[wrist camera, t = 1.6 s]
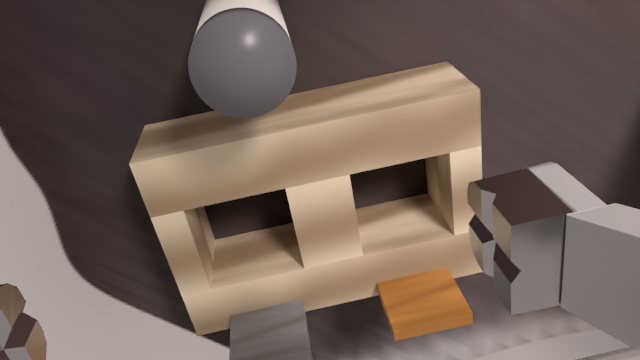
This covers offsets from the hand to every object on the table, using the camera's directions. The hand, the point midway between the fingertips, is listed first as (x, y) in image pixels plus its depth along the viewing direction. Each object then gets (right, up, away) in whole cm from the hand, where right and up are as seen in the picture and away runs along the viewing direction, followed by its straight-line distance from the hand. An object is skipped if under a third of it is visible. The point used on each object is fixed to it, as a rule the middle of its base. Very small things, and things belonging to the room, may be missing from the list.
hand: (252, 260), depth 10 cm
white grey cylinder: (-3, +10, +19) cm, 22 cm away
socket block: (+1, +1, +24) cm, 24 cm away
